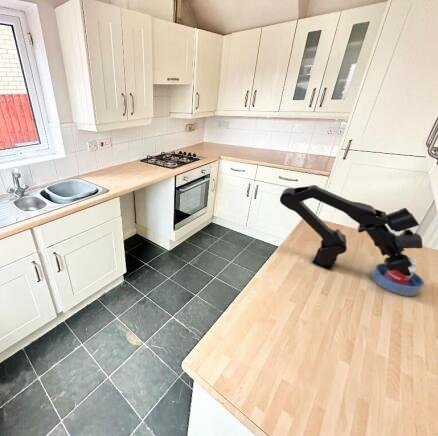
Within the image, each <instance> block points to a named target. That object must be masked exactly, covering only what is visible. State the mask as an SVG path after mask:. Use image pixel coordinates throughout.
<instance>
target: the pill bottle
mask: <svg viewBox="0 0 438 436" xmlns="http://www.w3.org/2000/svg"><path fill="white" fill-rule="evenodd" d="M408 258H409V259H410V261H411V263H412V266H410V267H408V269H409V271H410V273H411V276H406V275H404V274H402V273H400V272H398V271H396V270H393V271H389V270H388V271H387V272H386V274H385V275H384V276H385V277H386V278H388V279H390V280H392V281H394V282H396V283H399V284H402V285H406V284H407V282H408V281H409V280H410V278H411V277H412V275H413V274H414V273H415V272H417V268H416V266H417V264H418V261H417V260H416V259H415V258H413V257H411V256H408ZM415 274H416V273H415Z"/></svg>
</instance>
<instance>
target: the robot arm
mask: <svg viewBox="0 0 438 436" xmlns="http://www.w3.org/2000/svg"><path fill="white" fill-rule="evenodd" d="M309 199H314V200H316V201H319V202H320V203H322V204H325V205H327V206H330V207H332V208H334V209H336V210H338V211H340V212H342V213H344V214H345V215H347V216H348V217H349V218H350V219H352V221H354V222H356V223H357V224H358V226H357V233H359V234H361V233H363V232H365V233H366V234H367V236H369V238H370V239H371V240H372V241H373V244H374V246H375V247H377V248H378V250H379V251H380V255H382V256H387V257H385V258H384V260H383V263H385V266H386V268H387V269H388V270H389V271H393V270H396V271H398V272H400V273H402V274H404V275H406V276H411V273H410V271H409V269H408V267H410V266H412V263H411V261H410V259H409V258H408V257H409V256H408V255H407V254H403V252H404V251H405V249H422V248H424V247H423V246H424V245H423V238H422V237H421V235H420V234H418V232H413V231H412V230H411V229H412V228H416V227H419V226H420V223H419V222H418V220H417V219H416V217H415V216H414V215H413V213H412V212H410V210H408V208H407V207H403V208H400V209H399V210H397V211H393V212H391V213H388V214H387V213H386V212H385V211H382V210H380V209H376V208H375V207H374V206H372V205H370V204H367V203H364V202H360V201H359V202H357V201H352V200H349V199H346V198H344V197H342V196H340V195H338V194H334V193H333V192H331V191H328V190H326V189H323V188H321V187H319V186H318V185H315V184H312V185H307V186H299V187H288V188H285V189H283V191H282V193H281V195H280V197H279V202H280V204H282V205H283V206H284V207H285V208H287V209H288V210H290V211H293V212H295V213H296V214H297V215H298V216H299V217H300V218H301V219H302V221H305V222H306V224H307V225H308V226H309V227H310V228H311V229H312V230H313V231H315V232H316V234H317V235H319V237H320V238H321V239H322V240H320V246H319V248H318V249H317V251H316V253H315V256H314V258H313V260H312V262H311V263H312V264H314V265H315V266H317V267H322V268H323V269H325V270H328V271H330V270H331V269H332V268H333V267H334V266H335V264H336V262H337V259H338V257H339V255H343V254H345V253H346V252H347V249H348V247H347V238H346V237H347V236H346V235H345V234H343V233H342V232H341V230H340V229H339V228H337V229H335V230H333V229H331V228H330V227H329V226H328V225H327V224H326V223H325V222H324V221H323V220H322V219H321V218H320V217H319V216H317V214H316V213H314V212H313V210H312V209H310V208H309V206H307V205H306V204H305V202H304V201H306V200H309ZM390 230H391V231H394V232H391V231H390ZM396 232H398V233H399V232H401V233H400V234H399V235H396V234H395V233H396Z"/></svg>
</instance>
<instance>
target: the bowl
mask: <svg viewBox="0 0 438 436" xmlns="http://www.w3.org/2000/svg"><path fill="white" fill-rule="evenodd" d="M387 271H388V269H387V268H386V266H385V263H384V262H381V263H380V262H379V263H378V264H375V267H374V269H373V270H372V272H371V274H370V276H371V279H372V280H373V282H374V283H375V284H377V286H379V287H381V288H383V289H385V290H387V291H389V292H391V293H393V294H397V295H401V296H405V297H406V296H407V297H414V296H417V295H419V293H420V291H421V290H422V289H423V287H424V286H425V281H424V280H423V278H422V277H421V276H419V274H417V273H414V274H413V275H412V277H411V278H410V280H409V281H408V282H407V284H406V285H402V284H399V283H396V282H394V281H392V280H390V279H388V278H386V277H385V276H384V275H385V274H386V272H387Z"/></svg>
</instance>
